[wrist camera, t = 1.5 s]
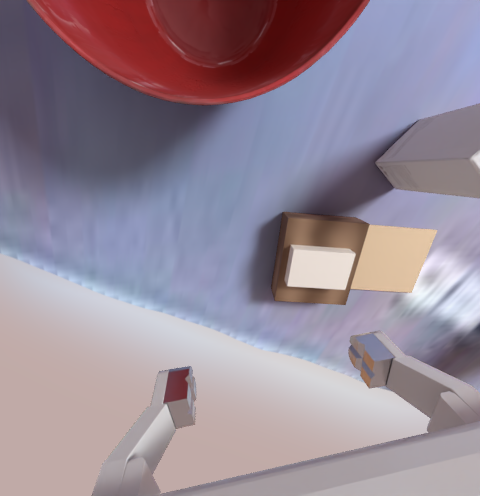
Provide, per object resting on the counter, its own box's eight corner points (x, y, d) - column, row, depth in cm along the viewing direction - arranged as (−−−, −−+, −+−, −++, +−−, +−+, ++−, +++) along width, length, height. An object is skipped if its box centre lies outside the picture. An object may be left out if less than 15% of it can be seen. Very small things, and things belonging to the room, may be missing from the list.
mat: (435, 229, 38) (437, 230, 37) (410, 291, 42) (411, 292, 42) (354, 223, 37) (355, 224, 37) (336, 287, 41) (337, 288, 41)
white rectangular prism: (349, 248, 34) (355, 253, 32) (339, 283, 36) (345, 289, 35) (290, 244, 34) (293, 249, 32) (284, 279, 36) (287, 286, 34)
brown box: (355, 217, 37) (369, 224, 33) (335, 291, 42) (345, 304, 38) (282, 211, 36) (288, 217, 32) (271, 287, 41) (274, 300, 37)
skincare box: (394, 189, 35) (497, 208, 21) (371, 161, 34) (467, 162, 20) (443, 146, 33) (593, 136, 19) (421, 113, 32) (568, 77, 18)
